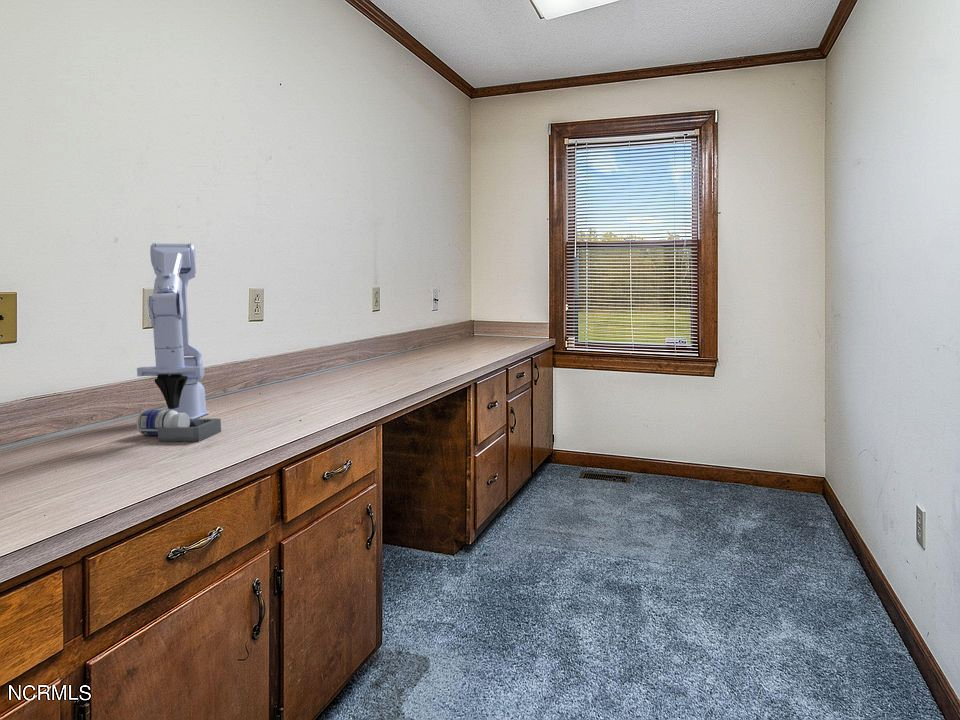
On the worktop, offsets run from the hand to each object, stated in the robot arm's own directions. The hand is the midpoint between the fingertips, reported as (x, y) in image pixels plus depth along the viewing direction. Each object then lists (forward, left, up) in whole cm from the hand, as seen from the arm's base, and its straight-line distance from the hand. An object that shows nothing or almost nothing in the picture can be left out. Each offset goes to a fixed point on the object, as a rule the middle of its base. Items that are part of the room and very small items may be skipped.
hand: (173, 408), depth 144 cm
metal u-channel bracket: (0, +3, -6) cm, 7 cm away
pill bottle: (-1, -8, -3) cm, 9 cm away
